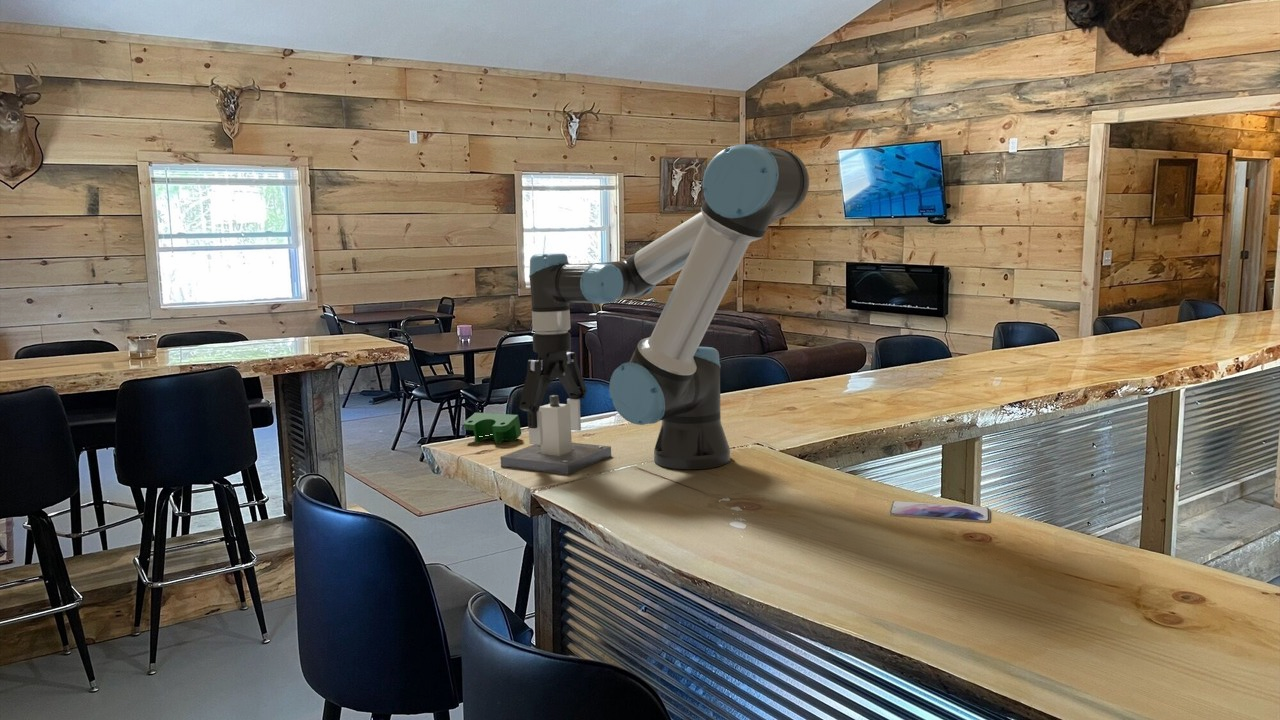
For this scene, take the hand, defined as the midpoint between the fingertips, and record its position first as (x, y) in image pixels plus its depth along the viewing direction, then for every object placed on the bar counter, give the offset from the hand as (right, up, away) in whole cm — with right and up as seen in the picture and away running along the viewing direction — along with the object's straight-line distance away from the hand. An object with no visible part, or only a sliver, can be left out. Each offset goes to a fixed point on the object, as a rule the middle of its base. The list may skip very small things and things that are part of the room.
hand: (555, 436), depth 186 cm
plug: (0, -5, +1) cm, 5 cm away
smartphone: (+64, -9, -40) cm, 76 cm away
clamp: (-16, -3, +21) cm, 27 cm away
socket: (0, -5, +1) cm, 5 cm away
